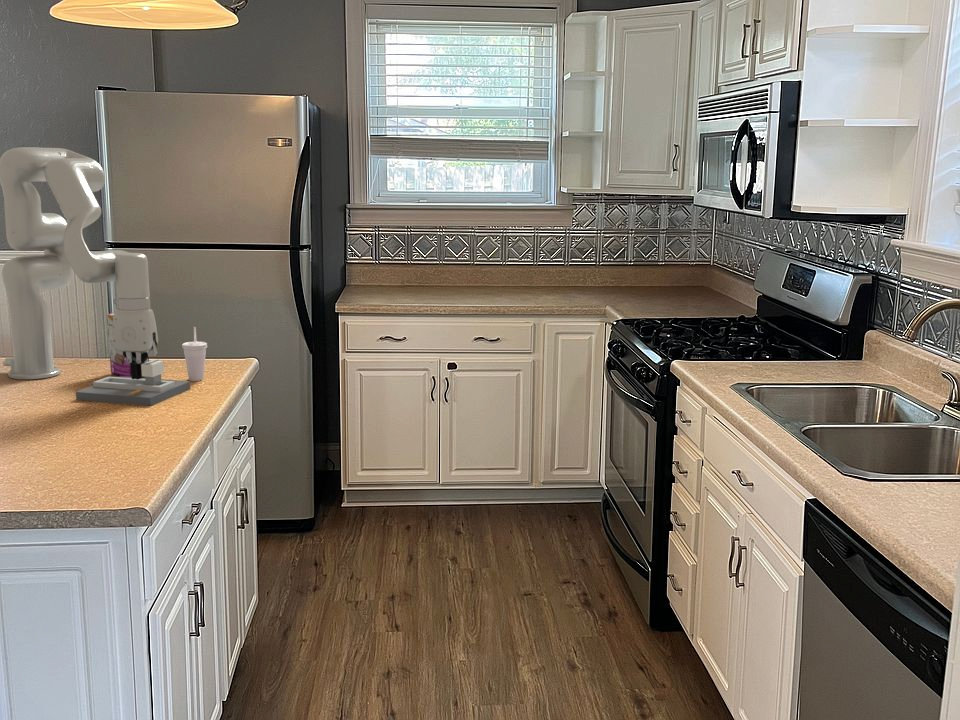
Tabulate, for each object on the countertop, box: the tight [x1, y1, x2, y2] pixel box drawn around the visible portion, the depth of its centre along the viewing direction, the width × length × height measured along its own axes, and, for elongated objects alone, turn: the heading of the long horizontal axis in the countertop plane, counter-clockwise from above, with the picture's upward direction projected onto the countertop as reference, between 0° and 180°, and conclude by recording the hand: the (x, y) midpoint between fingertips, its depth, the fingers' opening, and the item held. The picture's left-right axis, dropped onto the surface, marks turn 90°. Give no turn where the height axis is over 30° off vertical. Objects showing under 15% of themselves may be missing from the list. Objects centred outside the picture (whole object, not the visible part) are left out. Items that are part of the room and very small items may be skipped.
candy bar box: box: [106, 312, 150, 378], centre depth 255 cm, size 11×5×16 cm, turn 54°
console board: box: [75, 375, 191, 407], centre depth 236 cm, size 20×18×3 cm
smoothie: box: [181, 326, 208, 382], centre depth 252 cm, size 6×6×14 cm
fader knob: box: [141, 359, 165, 386], centre depth 234 cm, size 3×5×6 cm, turn 167°
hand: (138, 378), depth 235 cm, fingers closed
